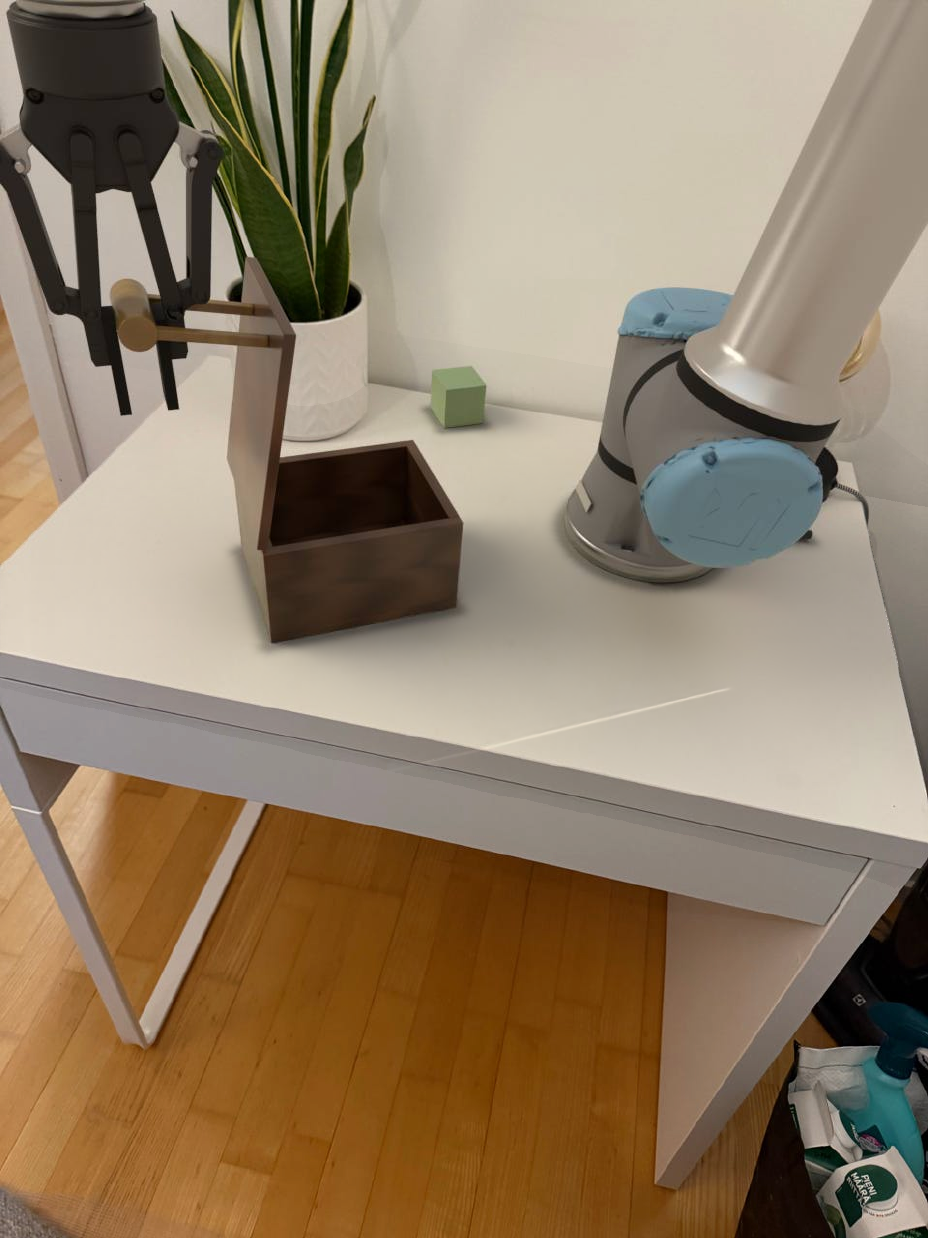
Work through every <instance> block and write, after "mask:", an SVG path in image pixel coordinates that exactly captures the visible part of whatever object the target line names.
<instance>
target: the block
mask: <svg viewBox="0 0 928 1238" xmlns="http://www.w3.org/2000/svg"><path fill="white" fill-rule="evenodd" d="M487 386H488V385H487V384H486V383H485V381H484V380H483V379H482V378H481V376H480V374H478V372H477V371H476V370H475V368H474V367H473V366H472V365H466V366H456V367H447V368H438V369H432V370H431V389H430V406H429V408H430V409H431V411H432V412H433V414H434V415H435V417H436V418H437V420H438V421H439V423H440V425H441V426H442V427H443V428H444V429H447V428H455V427H463V426H470V425H479V424H483V423H484V415H485V406H486V397H487V396H486V395H487Z"/></svg>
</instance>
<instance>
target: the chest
mask: <svg viewBox="0 0 928 1238" xmlns="http://www.w3.org/2000/svg"><path fill="white" fill-rule="evenodd" d="M233 483H234V484H233V485H234V493H235V504H236V511H237V512H236V513H237V520H238V528H239V538H240V548H241V551H242V554H243V558H244V561H245V564H246V567H247V570H248V573H249V577H250V580H251V583H252V586H253V591H254V593H255V596H256V599H257V602H258V606H259V608H260V609H259V610H260V612H261V615H262V618H263V621H264V625H265V628H266V631H267V635H268V637H269V641H270V643H271V644H274V643H279V642H284V641H288V640H295V639H299V638H305V637H309V636H315V635H321V634H325V633H331V632H336V631H340V630H345V629H346V630H347V629H352V628H357V627H362V626H367V625H372V624H377V623H383V622H388V621H393V620H398V619H403V618H408V617H413V616H419V615H425V614H429V613H434V612H440V611H445V610H451V609H456V608H457V605H458V604H457V603H458V589H459V579H460V578H459V577H460V568H461V567H460V565H461V556H462V555H461V554H462V543H463V533H464V532H463V531H464V521H463V520H462V518H461V516H460V515H459V513H458V511H457V509H456V508H455V507H454V505H453V503H452V501H451V500H450V498H449V496H448V494H447V493H446V491H445V489H444V488H443V486H442V485H441V483H440V481H439V479H438V477H436V475H435V473H434V471H433V470H432V468H431V466H430V465H429V463H428V462H427V460H426V458H425V457H424V455H423V453H422V452H421V451H420V449H419V447H418V445H417V443H416V442H415V440H413V439H409V440H408V439H407V440H400V441H393V442H385V443H378V444H371V445H363V446H355V447H348V448H340V449H335V450H333V449H332V450H326V451H325V450H324V451H317V452H312V453H311V452H310V453H301V454H295V455H294V454H293V455H288V456H282V457H281V456H280V461H279V469H278V476H277V484H276V491H275V499H274V506H273V513H272V521H271V528H270V536H269V543H268V550H257V548H256V545H255V542H254V539H253V536H252V533H251V530H250V527H249V524H248V521H247V518H246V515H245V512H244V509H243V506H242V503H241V500H240V497H239V494H238V491H237V488H236V485H235V482H234V481H233Z"/></svg>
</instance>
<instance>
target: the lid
mask: <svg viewBox="0 0 928 1238" xmlns="http://www.w3.org/2000/svg"><path fill="white" fill-rule="evenodd" d="M242 280H243V281H242V291H241V302H239V301H231V300H230V301H229V300H221V299H219V300H218V299H210V300H209V301H208V302H207V303H206V304H202V305H200V304H195V305H193V306H191V307H189V308H188V309H187V310H186V311H187V312H188V311H189V312H201V313H210V314H223V315H235V316H239V322H238V323H239V324H238V331H227V330H216V329H215V330H214V329H203V328H188V327H185V328H179V327H166V326H156V323H155V319H154V316H153V312H152V309H151V305H150V303H154V302H161V298H160V294H154V293H148V292H147V290H146V288H145V286H144V285H143V284H142V283H140V281H138V280H135V279H132V278H122V279H119V280H117V281H115V282H114V283H113V284H112V286H111V288H110V290H109V299H110V300H109V301H110V306H112V309H113V313H114V318H115V323H116V328H117V333H118V339H119V343H120V344H122V346H123V347H124V348H125V349H127V350H129V351H131V352H133V353H134V352H135V353H145V352H147V351H150V350H151V349H153V348H154V347H155V346H156V342H157V340H166V341H180V342H187V343H195V344H207V345H208V344H209V345H222V346H224V345H225V346H234V347H235V346H236V355H235V357H236V358H235V365H234V375H233V376H234V377H233V387H232V398H231V406H230V407H231V409H230V418H229V428H228V429H229V430H228V440H227V450H226V460H227V464H228V467H229V469H230V473H231V476H232V479H233V483H234V482H235V485H236V488H237V491H238V494H239V497H240V500H241V503H242V506H243V509H244V512H245V515H246V518H247V521H248V524H249V527H250V530H251V533H252V536H253V539H254V542H255V545H256V548H257V550H268V543H269V536H270V528H271V521H272V513H273V506H274V499H275V491H276V484H277V476H278V469H279V461H280V457H281V454H282V445H283V439H284V430H285V425H286V417H287V408H288V402H289V400H288V399H289V393H290V387H291V386H290V385H291V378H292V371H293V364H294V356H295V348H296V342H297V334H296V332H295V330H294V327H293V326H292V324H291V322H290V320H289V318H288V316H287V314H286V312H285V310H284V308H283V306H282V304H281V303H280V301H279V299H278V297H277V295H276V293H275V291H274V289H273V287H272V285H271V284H270V281H269V280H268V278H267V275H266V274H265V272H264V270H263V268H262V266H261V264H260V262H259V260H258V258H257V257H254V256H245V260H244V272H243V279H242Z"/></svg>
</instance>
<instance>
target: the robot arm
mask: <svg viewBox="0 0 928 1238" xmlns="http://www.w3.org/2000/svg"><path fill="white" fill-rule="evenodd" d="M145 1H146V0H15V1H13V2H11V3H10V5H9V6H8V9H7V10H6V13H5V14H6V20H7V23H8V24H7V25H8V29H9V33H10V39H11V42H12V43H11V44H12V47H13V52H14V56H15V61H16V65H17V70H18V76H19V79H20V85H21V90H22V95H23V98H22V104H21V106H20V110H19V113H18V114H19V122H18V123H17V124H16V125H14V126H13V127H11V128H9V129H8V130H5V131H3V133H0V186H1V187H2V188H3V190H4V192H6V194H7V197H8V200H9V203H10V206H11V208H12V211H13V213H14V217H15V219H16V223H17V225H18V227H19V231H20V233H21V236H22V238H23V242H24V244H25V247H26V249H27V252H28V254H29V257H30V261H31V264H32V266H33V268H34V271H35V273H36V274H35V275H36V277H37V279H38V283H39V285H40V288H41V290H42V293H43V296H44V299H45V302H46V304H47V307H48V309H49V311H50V312H51V313H52V314H54V315H56V316H64V315H69V316H73V317H75V318H78V319H79V320H80V322H81V323H82V324H83V329H84V333H85V338H86V343H87V347H88V353H89V357H90V361H91V363H93V366H94V367H96V368H99V367H110V368H111V372H112V378H113V383H114V389H115V394H116V399H117V405H118V410H119V414H120V417H121V416H131V415H133V413H132V412H133V411H132V405H131V401H130V395H129V389H128V384H127V379H126V373H125V367H124V361H123V356H122V350H121V344H120V340H119V337H118V332H117V328H116V323H115V318H114V313H113V309H112V305H103V304H102V289H101V288H102V287H101V272H100V271H101V270H100V253H99V236H98V216H97V213H98V211H97V194H101V193H105V192H108V191H111V190H115V191H119V192H124V193H131V196H132V197H131V198H132V201H133V204H134V207H135V211H136V215H137V218H138V221H139V225H140V229H141V233H142V236H143V240H144V243H145V246H146V251H147V255H148V257H149V262H150V264H151V268H152V272H153V277H154V279H155V283H156V286H157V290H158V295H160V298H161V302H154V303H150V305H151V309H152V312H153V316H154V319H155V323H156V326H166V327H179V328H186V323H185V315H186V311H187V309H188V308H189V307H191V306H193V305H195V304H200V305H202V304H206V303H207V302H208V301H209V300H211V294H212V292H211V289H212V288H211V287H212V285H211V284H212V233H213V232H212V230H213V229H212V227H213V226H212V225H213V221H212V220H213V183H214V181H215V178H216V176H217V174H218V171H219V168H220V165H221V162H222V160H223V157H224V150H223V147H222V146H221V144H220V142H219V140H218V138H217V136H216V135H215V133H214V132H212V131H211V130H208V129H204V130H203V129H202V130H201V131H200V130H198V129H196V128H193V127H191V126H189V125H188V124H186V123H183V122H182V121H180V120H179V117H178V114H177V112H176V111H175V109H174V107H173V105H172V104H171V102H170V101H169V98H168V95H167V90H166V82H165V74H164V63H163V57H162V49H161V40H160V31H159V23H158V17H157V15H156V14H155V13H154V12H153V10H152V9H151V8H150V7H149V6H148V5H146V2H145ZM175 143H176V144H177V145H178V146H179V150H178V151H179V152H178V155H179V159H180V161H181V163H182V165H183V166H184V168H185V169H186V170H185V278H183V279H181V280H178V281H177V278H176V274H175V270H174V265H173V263H172V258H171V254H170V250H169V247H168V244H167V239H166V235H165V232H164V228H163V224H162V220H161V217H160V212H159V208H158V205H157V199H156V196H155V193H154V188H153V185H152V182H153V180H154V179H155V178H156V175H157V174H158V172H159V170H160V169H161V166H162V165H163V163H164V161H165V159H166V157H167V156H168V154H169V152H170V150H171V149H172V147H173V145H174V144H175ZM31 146H33V147H34V148H35V149H36V151H37V152H38V153H39V154H40V155H41V156H42V157H43V158H44V159H45V160H46V162H48V163H49V164H50V165H51V166H52V167H53V168H54V170H56V171H57V173H59V175H60V176H61V177H62V178H63V179H64V180H65V181H66V182H67V183H68V184H69V185H70V193H71V204H72V207H71V208H72V218H73V219H72V220H73V232H74V233H73V234H74V247H75V262H76V263H75V264H76V276H77V277H76V278H77V288H75V287H71V286H67V285H66V282H65V280H64V277H63V273H62V271H61V268H60V267H61V266H60V265H59V261H58V259H57V255H56V253H55V250H54V247H53V244H52V241H51V238H50V235H49V232H48V230H47V227H46V224H45V221H44V219H43V216H42V213H41V209H40V207H39V203H38V200H37V198H36V195H35V192H34V189H33V187H32V183H31V180H30V178H29V176H28V174H29V173H30V171H31V169H32V161H31V156H30V154H29V149H30V148H31ZM927 226H928V0H871V2H870V4H869V6H868V7H867V10H866V13H865V15H864V17H863V19H862V21H861V23H860V25H859V28H858V30H857V32H856V34H855V36H854V38H853V40H852V42H851V45H850V46H849V48H848V51H847V53H846V55H845V57H844V59H843V62H842V63H841V65H840V68H839V70H838V72H837V73H836V76H835V78H834V80H833V82H832V85H831V87H830V89H829V91H828V93H827V96H826V98H825V100H824V101H823V104H822V106H821V108H820V110H819V113H818V115H817V116H816V119H815V121H814V123H813V125H812V127H811V129H810V131H809V133H808V135H807V138H806V140H805V142H804V145H803V146H802V148H801V151H800V153H799V155H798V157H797V158H796V161H795V163H794V165H793V168H792V170H791V172H790V174H789V176H788V178H787V181H786V182H785V185H784V187H783V189H782V191H781V193H780V195H779V197H778V199H777V202H776V204H775V205H774V208H773V210H772V211H771V214H770V216H769V218H768V221H767V223H766V225H765V227H764V229H763V231H762V234H761V236H760V237H759V239H758V242H757V244H756V246H755V249H754V250H753V253H752V255H751V257H750V259H749V261H748V263H747V265H746V266H745V269H744V272H743V273H742V276H741V278H740V280H739V283H738V284H737V287H736V289H735V291H734V293H733V294H729V293H725V292H721V291H715V290H710V289H705V288H704V289H703V288H695V287H677V286H676V287H672V286H671V287H657V288H654V289H648V290H645V291H641V292H640V293H638V294H636V295H633V297H632V298H631V299H630V300H629V301H628V302H627V304H626V305H625V308H624V312H623V315H622V320H621V324H620V326H619V327H618V328H617V333H616V334H617V335H618V339H617V343H616V349H615V354H614V359H613V365H612V369H611V375H610V381H609V386H608V392H607V396H606V401H605V407H604V411H603V412H604V413H603V418H602V423H601V429H600V435H599V439H598V446H597V449H596V453H595V454H594V455H593V458H592V460H591V461H590V463H589V465H588V467H587V468H586V470H585V472H584V474H583V475H582V477H581V479H579V481H578V483H577V485H576V486H575V488H574V489H573V491H572V492H571V494H570V496H569V498H568V500H567V505H566V510H565V511H566V512H565V516H564V530H565V533H566V536H567V538H568V540H569V542H570V543H571V545H572V546H573V547H574V549H575V550H576V551H577V552H578V553H579V554H580V555H582V556H583V558H585V559H587V561H589V562H590V563H592V564H594V565H595V566H597V567H599V568H601V569H603V570H605V571H607V572H609V573H612V574H614V575H617V576H620V577H623V578H627V579H630V580H635V581H639V582H640V581H641V582H647V583H678V582H684V581H687V580H692V579H696V578H699V577H701V576H703V575H704V574H706V573H708V572H710V571H711V570H712V569H714V568H715V569H716V568H717V569H727V568H737V567H744V566H749V565H750V564H752V563H754V562H756V561H758V560H768V559H770V558H772V557H775V556H777V555H778V554H781V553H782V552H784V551H786V550H787V549H789V548H790V547H792V546H793V545H794V544H796V543H797V542H798V541H799V540H811V539H812V538H813V530H812V529H811V527H812V525H813V524H814V523H815V521H816V520H817V518H818V515H819V514H820V511H821V508H822V504H823V499H824V489H823V485H824V484H823V475H822V474H821V471H820V468H819V466H817V465H816V462H817V459H818V458H819V455H820V454H821V452H822V451H823V450H824V448H825V446H826V444H827V443H828V441H829V439H830V438H831V436H832V434H833V433H834V432H835V430H836V428H837V426H838V424H839V423H840V421H841V420H842V418H843V416H844V413H845V412H846V408H847V401H846V398H845V394H844V392H843V389H842V386H841V383H840V377H841V373H842V372H843V370H844V368H845V367H846V364H847V363H848V362H849V360H850V358H851V356H852V355H853V352H855V349H856V347H857V346H858V345H859V343H860V340H861V339H862V338H863V336H864V334H865V332H866V331H867V329H868V327H869V325H870V324H871V322H872V320H873V319H874V317H875V315H876V313H877V312H878V310H879V309H880V306H881V305H882V303H883V301H884V299H885V298H886V296H887V294H888V293H889V291H890V289H891V288H892V286H893V284H894V282H895V281H896V279H897V277H898V275H899V274H900V272H901V271H902V269H903V267H904V265H905V264H906V262H907V260H908V259H909V256H910V255H911V253H912V252H913V250H914V248H915V246H916V244H917V243H918V241H919V240H920V238H921V236H922V234H923V232H924V231H925V229H926V228H927ZM188 345H189V344H188V342H180V341H166V340H157V342H156V344H155V348H156V354H157V360H158V366H159V374H160V380H161V387H162V392H163V393H162V394H163V397H164V401H165V404H166V408H167V411H170V412H171V411H177V410H180V404H179V403H180V402H179V396H178V391H177V390H178V389H177V383H176V376H175V370H174V369H175V368H174V363H173V360H183V359H187V357H188V354H189V346H188Z"/></svg>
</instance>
